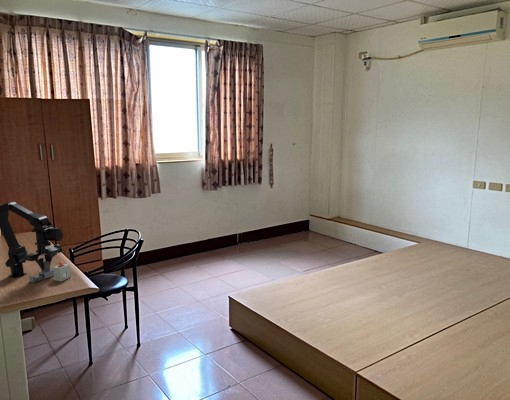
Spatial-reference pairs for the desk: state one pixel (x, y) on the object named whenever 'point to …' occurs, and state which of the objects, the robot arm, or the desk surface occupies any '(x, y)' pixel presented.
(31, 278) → the rail
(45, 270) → the carriage
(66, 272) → the cabinet
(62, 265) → the button
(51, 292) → the desk surface
